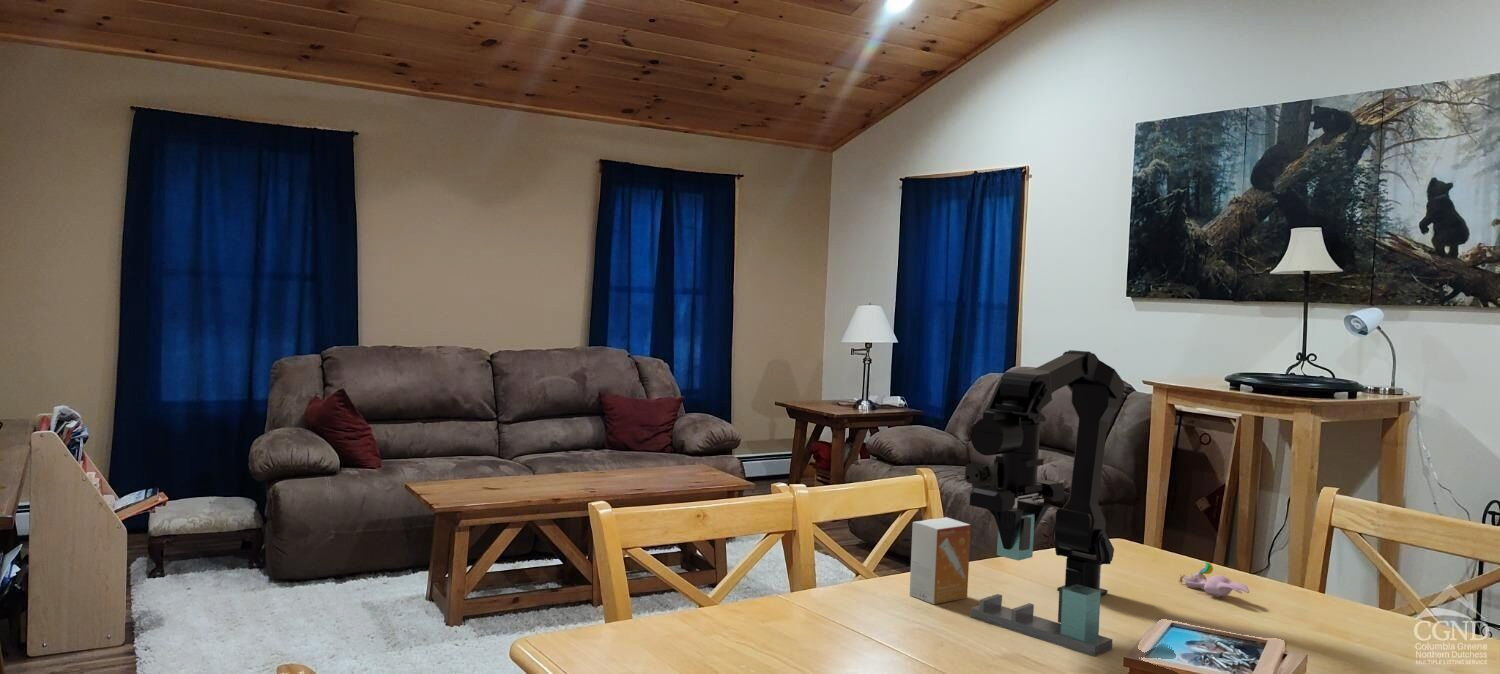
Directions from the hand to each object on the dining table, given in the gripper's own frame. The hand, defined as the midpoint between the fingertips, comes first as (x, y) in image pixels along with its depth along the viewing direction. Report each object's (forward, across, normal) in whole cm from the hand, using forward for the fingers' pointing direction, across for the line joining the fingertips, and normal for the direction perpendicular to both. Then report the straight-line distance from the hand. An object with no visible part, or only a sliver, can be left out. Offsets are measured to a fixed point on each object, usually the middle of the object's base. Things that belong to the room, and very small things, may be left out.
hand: (1014, 547), depth 164 cm
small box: (+12, -1, -15) cm, 20 cm away
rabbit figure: (+11, -42, +14) cm, 46 cm away
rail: (+12, +1, +6) cm, 13 cm away
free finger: (+1, 0, 0) cm, 1 cm away
